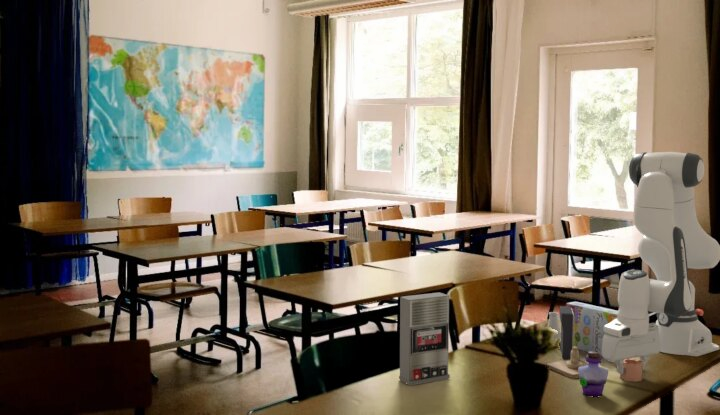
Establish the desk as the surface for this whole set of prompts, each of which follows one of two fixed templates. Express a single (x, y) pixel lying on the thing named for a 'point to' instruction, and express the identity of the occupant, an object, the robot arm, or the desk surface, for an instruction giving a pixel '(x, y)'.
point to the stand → (568, 365)
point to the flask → (554, 324)
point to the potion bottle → (592, 375)
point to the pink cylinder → (632, 370)
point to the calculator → (567, 331)
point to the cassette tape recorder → (424, 338)
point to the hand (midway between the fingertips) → (630, 371)
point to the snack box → (590, 325)
